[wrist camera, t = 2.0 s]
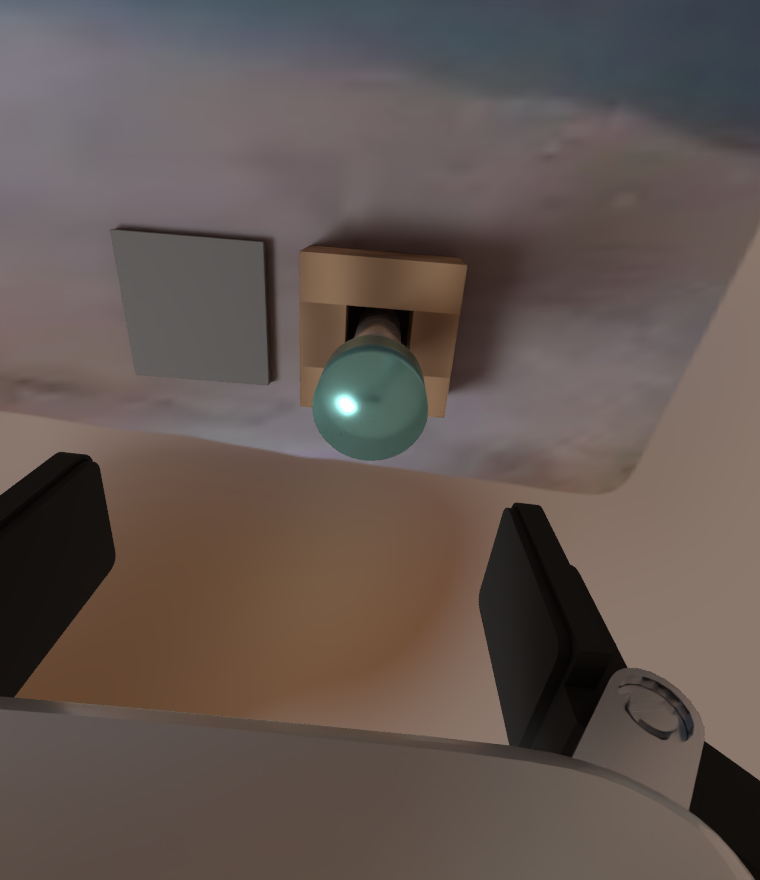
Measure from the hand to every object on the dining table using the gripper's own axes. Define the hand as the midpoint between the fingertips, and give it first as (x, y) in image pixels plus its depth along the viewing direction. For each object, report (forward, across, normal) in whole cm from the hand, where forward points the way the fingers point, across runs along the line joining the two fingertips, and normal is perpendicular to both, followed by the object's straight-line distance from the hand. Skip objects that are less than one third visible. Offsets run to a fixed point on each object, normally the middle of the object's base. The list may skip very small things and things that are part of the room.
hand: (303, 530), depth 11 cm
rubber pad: (+25, +12, +2) cm, 27 cm away
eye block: (+25, -1, +1) cm, 25 cm away
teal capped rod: (+25, -1, +1) cm, 25 cm away
